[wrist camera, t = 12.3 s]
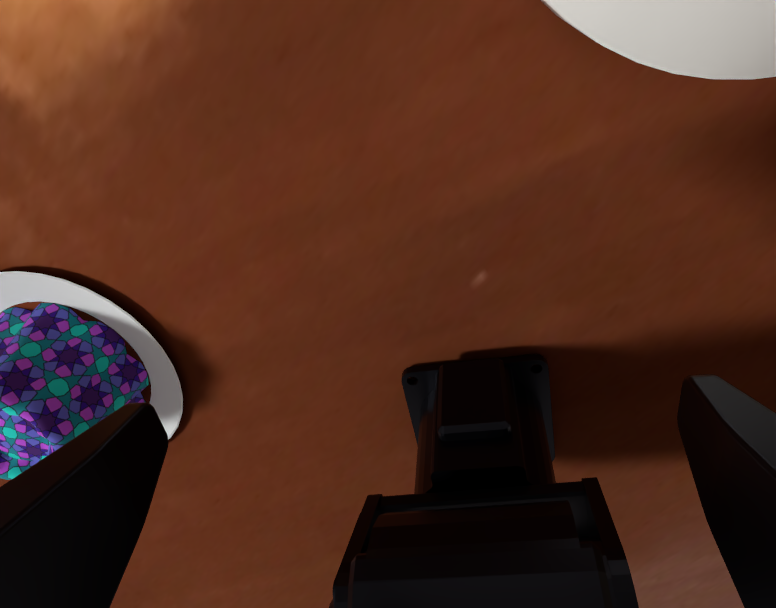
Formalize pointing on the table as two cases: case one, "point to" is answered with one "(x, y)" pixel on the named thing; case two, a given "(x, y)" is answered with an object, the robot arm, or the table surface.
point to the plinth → (682, 33)
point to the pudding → (70, 368)
